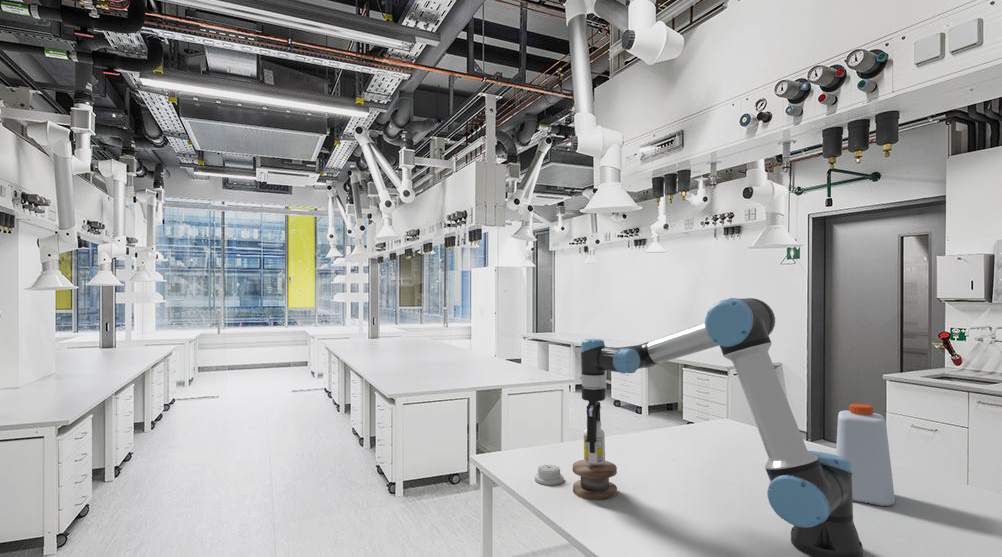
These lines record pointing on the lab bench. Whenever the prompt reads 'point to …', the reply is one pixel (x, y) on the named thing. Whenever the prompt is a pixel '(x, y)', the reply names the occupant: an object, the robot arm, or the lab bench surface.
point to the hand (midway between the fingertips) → (594, 458)
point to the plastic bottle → (866, 454)
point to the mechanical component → (549, 475)
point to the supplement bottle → (600, 445)
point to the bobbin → (595, 480)
